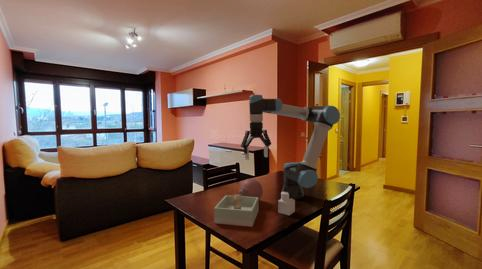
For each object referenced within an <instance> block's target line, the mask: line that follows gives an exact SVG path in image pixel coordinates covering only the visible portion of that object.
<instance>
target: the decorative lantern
mask: <svg viewBox="0 0 482 269" xmlns="http://www.w3.org/2000/svg"><path fill="white" fill-rule="evenodd" d="M263 189H264V188H263V185H262V184H261V182H260V181H259V180H257V179H255V178H246V179H244V180H243V181H242V182H241V183H240V184H239V188H238V192H237V194H240V195H241V196H245V197H258V202H259V201H260V200H261V198H263V197H262V196H263V193H264V192H263V191H264V190H263Z"/></svg>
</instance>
